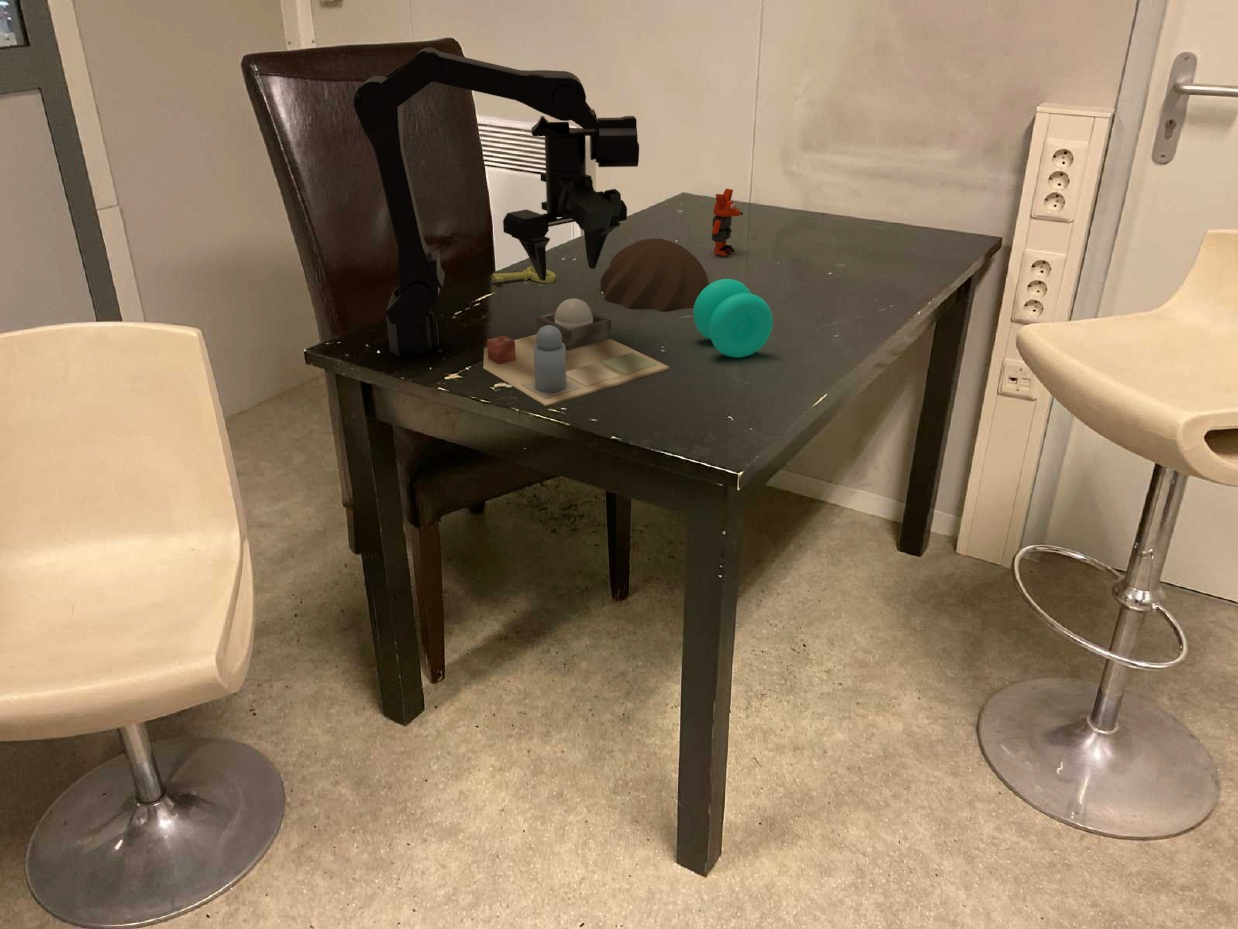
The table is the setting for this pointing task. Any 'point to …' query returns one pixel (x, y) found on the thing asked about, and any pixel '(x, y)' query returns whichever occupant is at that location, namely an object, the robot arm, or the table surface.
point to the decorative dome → (654, 276)
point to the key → (525, 276)
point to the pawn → (549, 360)
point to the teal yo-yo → (733, 318)
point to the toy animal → (723, 222)
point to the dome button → (573, 314)
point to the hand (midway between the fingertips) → (567, 274)
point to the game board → (570, 360)
